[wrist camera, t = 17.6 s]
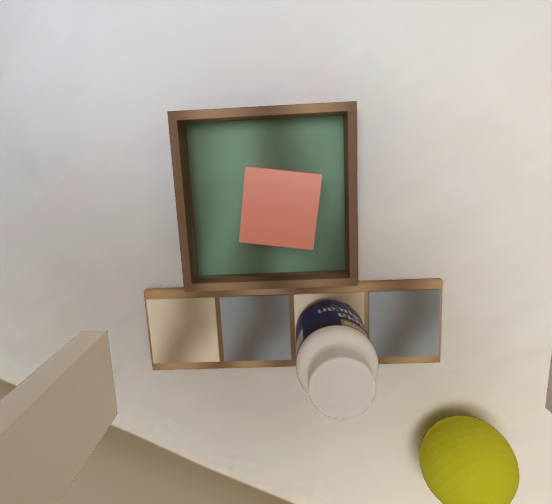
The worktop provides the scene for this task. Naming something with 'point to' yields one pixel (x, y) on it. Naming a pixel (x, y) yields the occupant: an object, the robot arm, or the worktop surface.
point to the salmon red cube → (280, 207)
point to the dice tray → (230, 183)
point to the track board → (287, 323)
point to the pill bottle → (335, 358)
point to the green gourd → (468, 462)
